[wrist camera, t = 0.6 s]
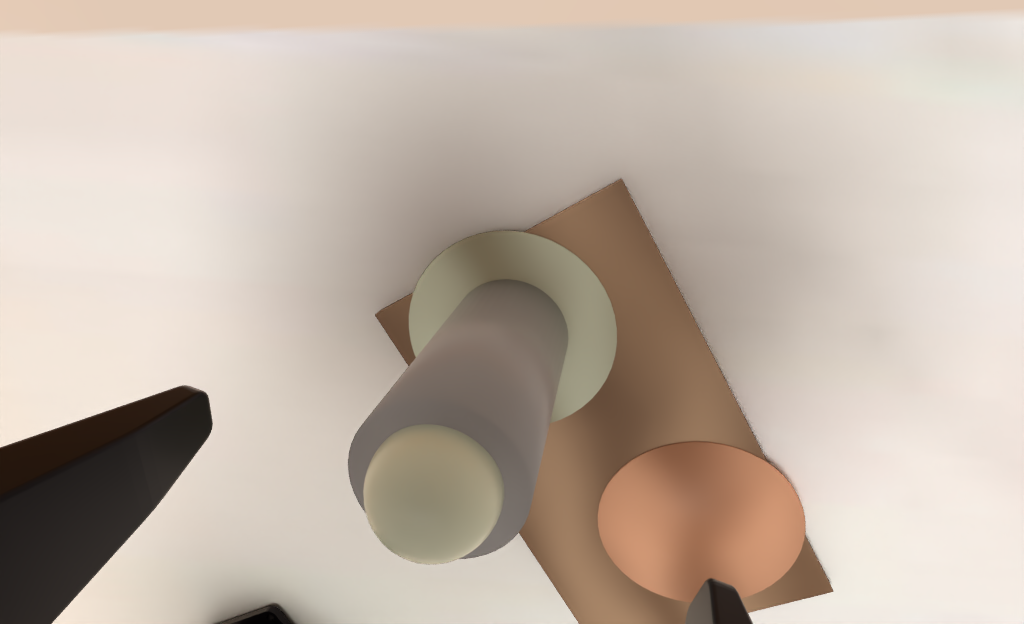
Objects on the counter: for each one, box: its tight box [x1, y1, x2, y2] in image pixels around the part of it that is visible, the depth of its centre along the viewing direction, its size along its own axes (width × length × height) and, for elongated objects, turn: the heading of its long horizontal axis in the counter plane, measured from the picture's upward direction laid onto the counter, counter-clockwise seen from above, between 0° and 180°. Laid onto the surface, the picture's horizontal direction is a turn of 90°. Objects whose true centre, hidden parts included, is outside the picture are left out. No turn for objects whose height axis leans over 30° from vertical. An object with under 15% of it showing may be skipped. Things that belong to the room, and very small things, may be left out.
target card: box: [375, 179, 833, 624], centre depth 25 cm, size 12×22×1 cm, turn 31°
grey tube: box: [348, 279, 568, 565], centre depth 18 cm, size 5×5×12 cm
